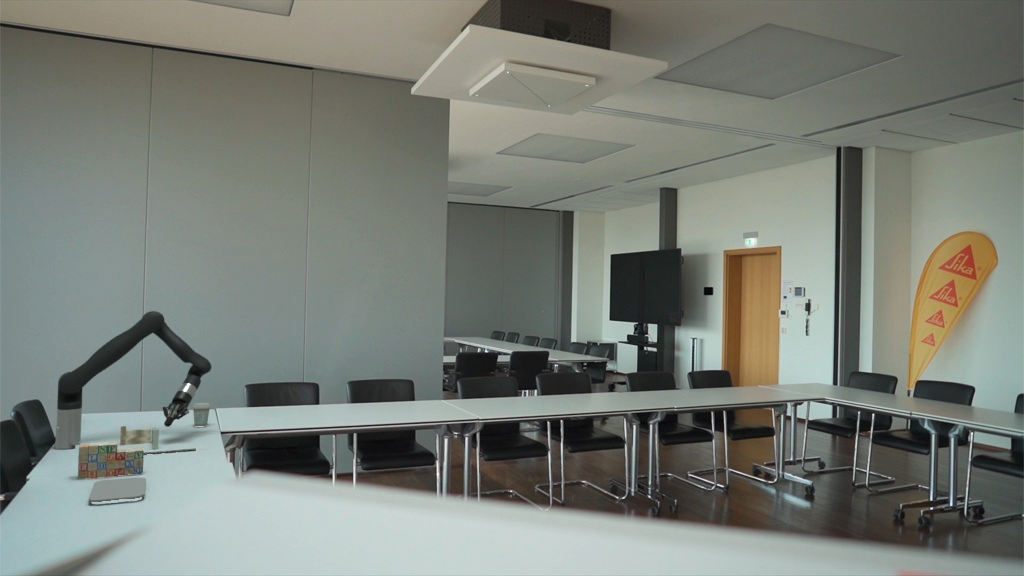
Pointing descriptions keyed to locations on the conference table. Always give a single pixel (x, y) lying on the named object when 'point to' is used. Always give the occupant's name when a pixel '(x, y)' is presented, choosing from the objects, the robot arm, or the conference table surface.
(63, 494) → the conference table surface
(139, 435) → the fixed fence panel
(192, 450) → the board
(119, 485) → the tablet
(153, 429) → the hinged fence panel
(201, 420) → the coffee cup
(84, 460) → the stack of blocks
